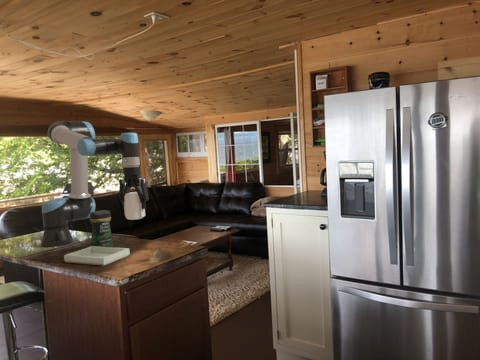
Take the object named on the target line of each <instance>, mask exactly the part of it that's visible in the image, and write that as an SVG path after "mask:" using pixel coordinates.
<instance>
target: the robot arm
mask: <svg viewBox="0 0 480 360" xmlns="http://www.w3.org/2000/svg"><path fill="white" fill-rule="evenodd" d="M94 128H95V127H93V125H92V123H90V122H89V121H83V120H82V121H80V120H78V121H77V120H70V121H69V120H59V121H55V122H54V123H52V124H51V125H49V127H48V130H47V136H48V138H49V140H50V141H51V142H52V143H54V144H57V145H65V146H67V148H69V150H70V190H71V191H70V193H69V195H68V196H67V197H68V198H67V199H66V198H64V197H60V198H55V199H50V200H47V201H44V202H43V203H42V204H41V214H42V216H41V217H42V224H43V233H42V238H41V242H40V243H41V247H44V248H45V247H49V248H50V247H59V246H64V245H69V244H71V243H73V242H74V241H73V240H74V239H73V235H72V233H71V231H70V229H69V224H68V223H69V222H75V221H79V220H80V221H81V220H86V219H90V213H91V212H94V211H96V201H95V199H94V197H92V195H91V194H90V193H89V175H88V174H89V172H88V171H89V163H88V162H89V161H88V160H89V159H88V157H92V156H110V155H113V156H117V155H121V157H122V159H121V160H122V167H123V168H122V173H123V176H124V178H122V179H118V183H119V191H118V200H119V201H120V202H122V208H123V209H124V217H126V211H125V198H124V196H125V193H126V194H128V193H130V192H131V189H132V188H133V189H135V192H137V193H138V196H139V199H140V202H139V206H140V217H142V216H144V217H146V208H147V204H146V202H147V201H149V200H150V197H149V192H148V191H149V190H148V187H147V178H142V177H141V167H140V165H141V163H140V161H141V160H140V148H139V145H140V144H139V136H138V134H137V133H136V132H121V134H120V138H119V137H118V138H117V137H114V138H96V132H95V129H94Z"/></svg>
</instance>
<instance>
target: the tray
mask: <svg viewBox="0 0 480 360" xmlns="http://www.w3.org/2000/svg"><path fill="white" fill-rule="evenodd" d="M130 255H131V254H130V248H127V247H114V246H112V247H98V246H92V245H91V246H87V247H86V248H82V249H79V250H75V251H71V252H69V253H66V254H64V255H63V258H64V259H63V260H64V263H73V264H83V265H95V266H107V265H109V264H112V263H113V262H116V261H119V260H121V259H123V258H126V257H129V256H130Z"/></svg>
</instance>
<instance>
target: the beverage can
mask: <svg viewBox="0 0 480 360" xmlns="http://www.w3.org/2000/svg"><path fill="white" fill-rule="evenodd" d="M124 198H125V211H126V216H125V219H127V220H130V221H131V220H132V221H134V220H136V221H137V220H141V219H143V218H145V216H142V217H140V206H139V202H140V199H139V196H138V193H137V192H136V191H132V192H131V191H130V193H128V194H126V193H125V196H124ZM125 211H124V212H125Z"/></svg>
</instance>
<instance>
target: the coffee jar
mask: <svg viewBox="0 0 480 360" xmlns="http://www.w3.org/2000/svg"><path fill="white" fill-rule="evenodd" d="M111 220H112V215H111V211H110V210H109V209H108V210H107V209H101V210H95V211H94V212H91V213H90V218H89V222H90V224H91V246H98V247H114V242H113V241H114V240H113V235H112V229H111Z"/></svg>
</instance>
